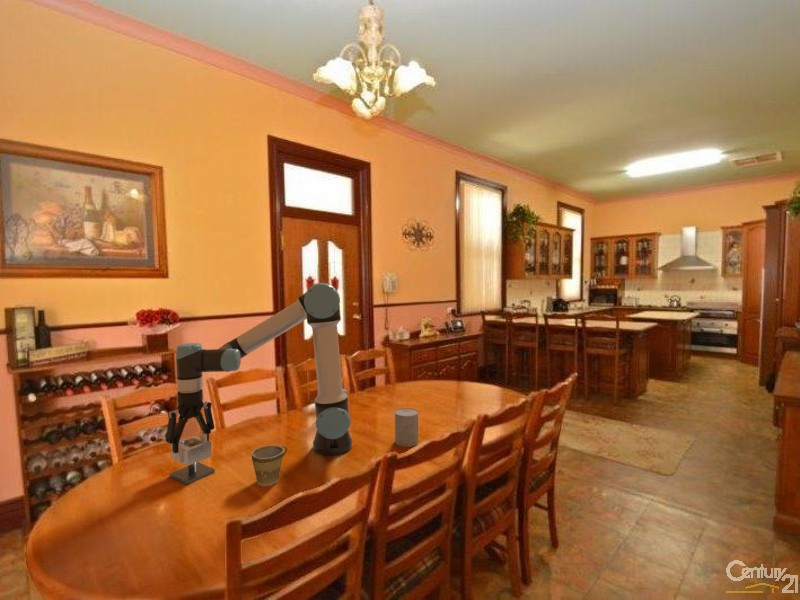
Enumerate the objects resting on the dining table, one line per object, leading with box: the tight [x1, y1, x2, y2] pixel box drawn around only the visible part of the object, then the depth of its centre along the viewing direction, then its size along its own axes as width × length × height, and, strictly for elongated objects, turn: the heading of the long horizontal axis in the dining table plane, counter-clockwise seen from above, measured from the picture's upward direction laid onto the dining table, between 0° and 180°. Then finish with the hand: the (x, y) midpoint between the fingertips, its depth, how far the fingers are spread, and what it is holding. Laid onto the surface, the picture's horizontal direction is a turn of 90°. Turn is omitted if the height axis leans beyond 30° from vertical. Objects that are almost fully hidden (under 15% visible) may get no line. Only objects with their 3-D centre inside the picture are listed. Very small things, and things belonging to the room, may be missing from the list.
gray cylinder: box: [394, 407, 419, 448], centre depth 162 cm, size 10×10×12 cm
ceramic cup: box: [250, 444, 288, 487], centre depth 132 cm, size 13×10×10 cm
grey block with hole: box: [170, 435, 212, 466], centre depth 135 cm, size 10×8×5 cm
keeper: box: [168, 439, 216, 486], centre depth 135 cm, size 10×10×12 cm
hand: (191, 456), depth 135 cm, fingers closed on grey block with hole, 8 cm apart
